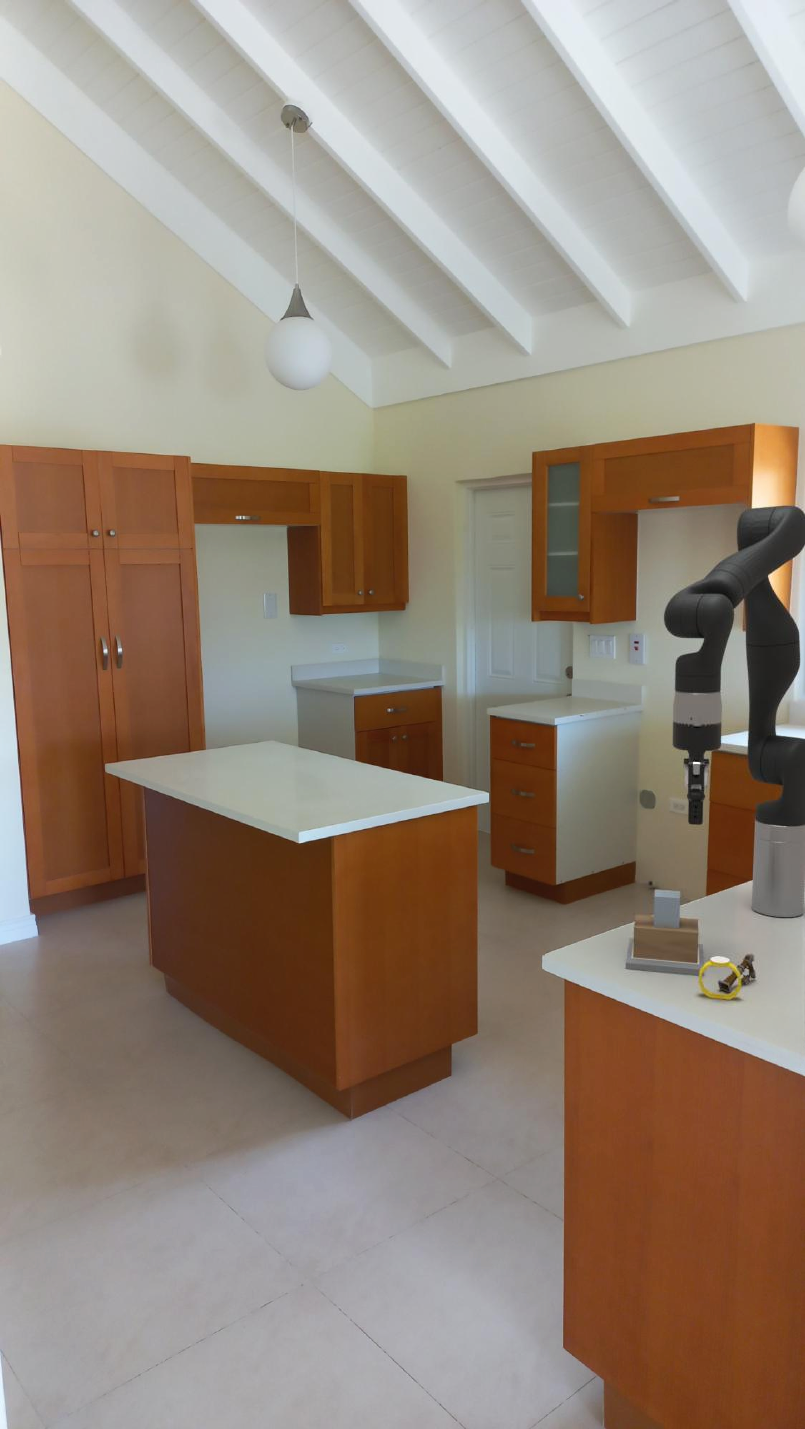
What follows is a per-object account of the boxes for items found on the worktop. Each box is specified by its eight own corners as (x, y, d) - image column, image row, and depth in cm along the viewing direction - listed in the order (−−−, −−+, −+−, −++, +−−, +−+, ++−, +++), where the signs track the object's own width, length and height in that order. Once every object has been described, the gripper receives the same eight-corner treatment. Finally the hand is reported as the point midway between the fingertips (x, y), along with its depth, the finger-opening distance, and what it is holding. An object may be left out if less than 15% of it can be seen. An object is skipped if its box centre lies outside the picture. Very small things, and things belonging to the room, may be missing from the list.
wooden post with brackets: (762, 975, 155) (757, 952, 153) (733, 1006, 151) (727, 983, 149) (752, 971, 156) (746, 948, 155) (723, 1003, 152) (717, 979, 151)
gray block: (654, 918, 166) (655, 889, 165) (679, 920, 165) (680, 891, 164) (653, 926, 162) (654, 896, 161) (679, 928, 161) (680, 898, 160)
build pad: (629, 943, 171) (629, 937, 171) (702, 950, 168) (702, 943, 168) (625, 968, 160) (626, 962, 160) (704, 976, 157) (704, 969, 157)
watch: (699, 1000, 148) (697, 961, 148) (699, 993, 151) (697, 955, 150) (742, 1002, 146) (740, 963, 146) (741, 995, 149) (739, 956, 148)
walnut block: (635, 943, 169) (635, 914, 168) (696, 948, 166) (697, 919, 165) (633, 957, 162) (633, 927, 161) (697, 963, 159) (698, 932, 159)
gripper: (673, 712, 168) (672, 807, 170) (671, 725, 155) (670, 827, 157) (720, 713, 166) (718, 809, 168) (722, 725, 153) (720, 829, 155)
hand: (695, 817), depth 162 cm, fingers open, 8 cm apart
